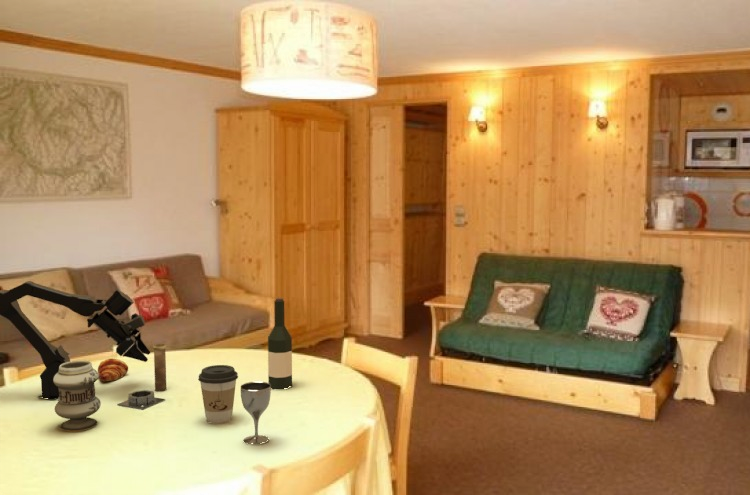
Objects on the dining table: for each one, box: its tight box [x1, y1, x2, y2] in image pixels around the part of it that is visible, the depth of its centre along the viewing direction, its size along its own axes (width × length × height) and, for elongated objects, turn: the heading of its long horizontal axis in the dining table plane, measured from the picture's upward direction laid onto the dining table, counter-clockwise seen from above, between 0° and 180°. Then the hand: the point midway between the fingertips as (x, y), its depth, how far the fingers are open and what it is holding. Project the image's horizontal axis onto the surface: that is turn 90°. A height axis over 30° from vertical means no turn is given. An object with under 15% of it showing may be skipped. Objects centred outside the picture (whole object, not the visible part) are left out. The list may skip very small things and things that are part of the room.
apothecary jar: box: [53, 360, 102, 433], centre depth 202 cm, size 12×12×18 cm
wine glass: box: [240, 381, 272, 445], centre depth 192 cm, size 8×8×15 cm
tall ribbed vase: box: [152, 343, 168, 392], centre depth 236 cm, size 4×4×15 cm
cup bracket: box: [117, 389, 166, 411], centre depth 223 cm, size 10×10×3 cm
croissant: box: [97, 358, 129, 382], centre depth 252 cm, size 21×10×8 cm, turn 7°
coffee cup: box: [198, 364, 239, 425], centre depth 208 cm, size 11×11×15 cm
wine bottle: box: [267, 297, 293, 390], centre depth 239 cm, size 8×8×30 cm
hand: (148, 357), depth 234 cm, fingers open, 9 cm apart
